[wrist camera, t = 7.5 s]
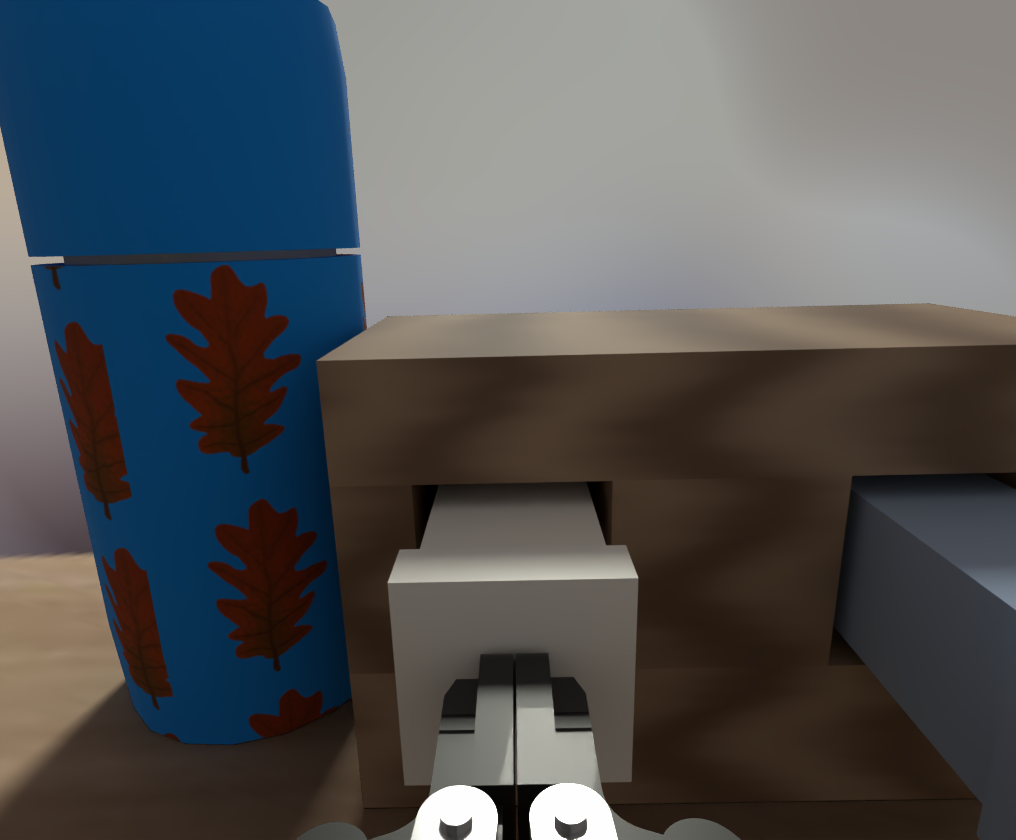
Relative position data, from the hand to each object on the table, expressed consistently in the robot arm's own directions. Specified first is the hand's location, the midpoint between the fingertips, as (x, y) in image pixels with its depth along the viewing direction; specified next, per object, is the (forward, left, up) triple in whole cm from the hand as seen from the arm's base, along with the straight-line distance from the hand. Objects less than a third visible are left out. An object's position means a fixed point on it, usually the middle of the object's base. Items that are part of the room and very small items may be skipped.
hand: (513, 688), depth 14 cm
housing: (+6, +10, -8) cm, 14 cm away
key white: (0, +6, -3) cm, 6 cm away
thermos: (-11, +12, -8) cm, 19 cm away
